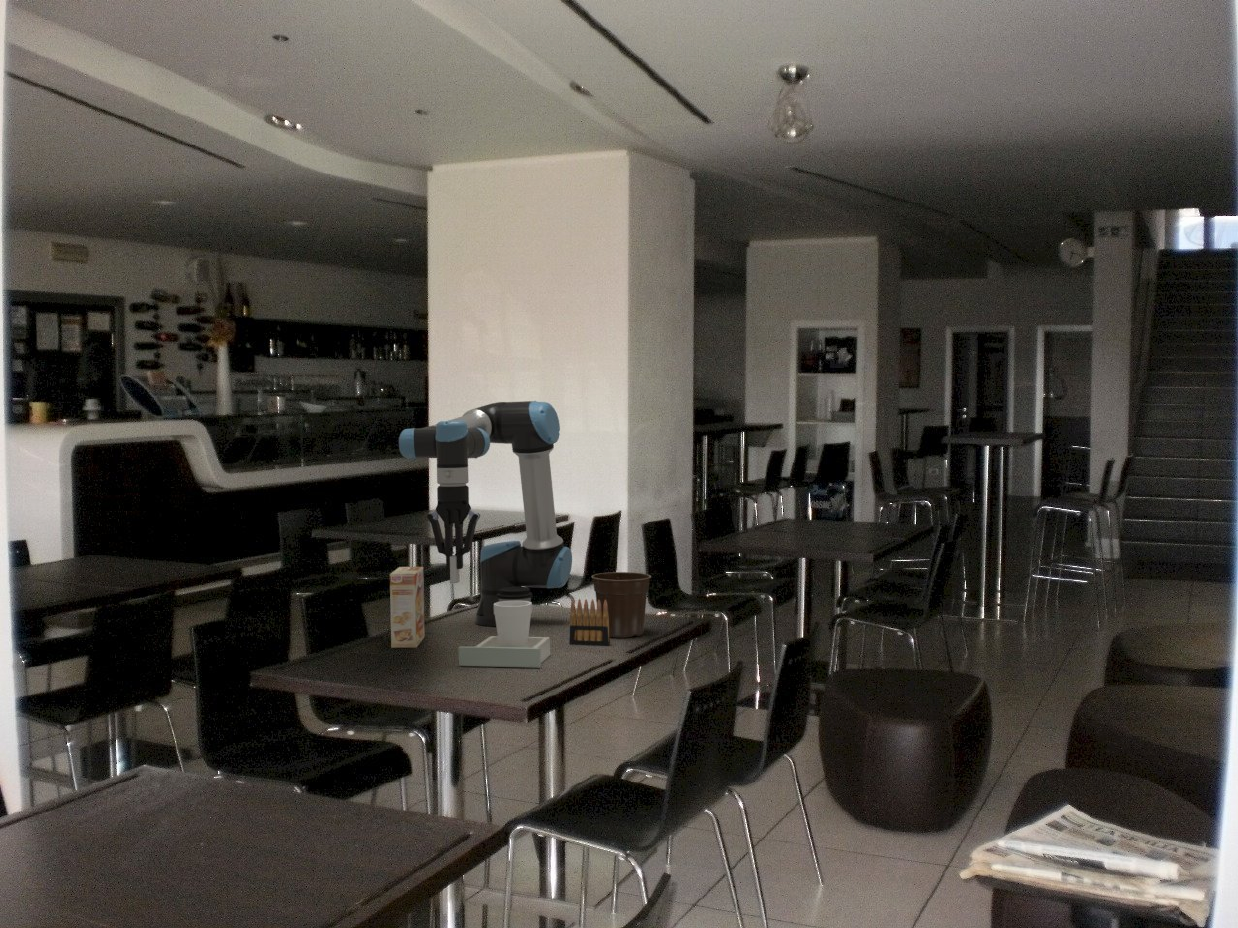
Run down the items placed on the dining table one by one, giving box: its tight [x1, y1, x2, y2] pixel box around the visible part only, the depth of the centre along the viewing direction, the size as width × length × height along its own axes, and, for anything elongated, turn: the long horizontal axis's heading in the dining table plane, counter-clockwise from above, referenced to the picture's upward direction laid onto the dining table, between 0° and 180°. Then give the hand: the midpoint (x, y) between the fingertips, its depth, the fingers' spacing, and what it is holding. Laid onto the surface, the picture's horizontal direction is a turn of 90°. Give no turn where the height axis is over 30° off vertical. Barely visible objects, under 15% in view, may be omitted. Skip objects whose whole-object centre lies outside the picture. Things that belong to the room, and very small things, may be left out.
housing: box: [475, 635, 551, 664], centre depth 305 cm, size 14×15×4 cm
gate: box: [458, 645, 542, 669], centre depth 297 cm, size 1×20×4 cm, turn 80°
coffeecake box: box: [389, 566, 425, 649], centre depth 330 cm, size 15×7×20 cm, turn 0°
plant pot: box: [591, 571, 652, 639], centre depth 337 cm, size 16×16×16 cm
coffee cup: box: [497, 587, 533, 602], centre depth 323 cm, size 9×9×15 cm
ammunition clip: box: [568, 598, 611, 647], centre depth 323 cm, size 11×2×12 cm, turn 76°
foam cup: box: [494, 601, 533, 648], centre depth 304 cm, size 10×9×13 cm
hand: (455, 582), depth 299 cm, fingers closed
